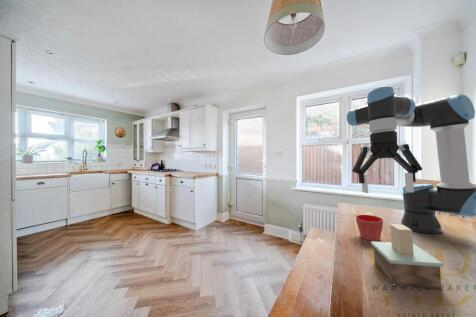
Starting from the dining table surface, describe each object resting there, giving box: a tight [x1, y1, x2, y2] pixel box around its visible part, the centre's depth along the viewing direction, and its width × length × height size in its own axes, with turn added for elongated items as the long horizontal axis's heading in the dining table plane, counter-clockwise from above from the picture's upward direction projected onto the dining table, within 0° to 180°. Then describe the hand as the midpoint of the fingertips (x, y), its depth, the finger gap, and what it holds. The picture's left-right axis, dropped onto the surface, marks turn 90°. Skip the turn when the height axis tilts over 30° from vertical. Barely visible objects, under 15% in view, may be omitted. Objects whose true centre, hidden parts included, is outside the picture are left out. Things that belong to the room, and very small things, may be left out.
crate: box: [372, 245, 442, 291], centre depth 61 cm, size 12×12×7 cm
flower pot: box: [355, 214, 384, 242], centre depth 89 cm, size 11×11×10 cm
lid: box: [370, 223, 444, 268], centre depth 61 cm, size 13×13×10 cm
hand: (387, 192), depth 64 cm, fingers open, 13 cm apart
